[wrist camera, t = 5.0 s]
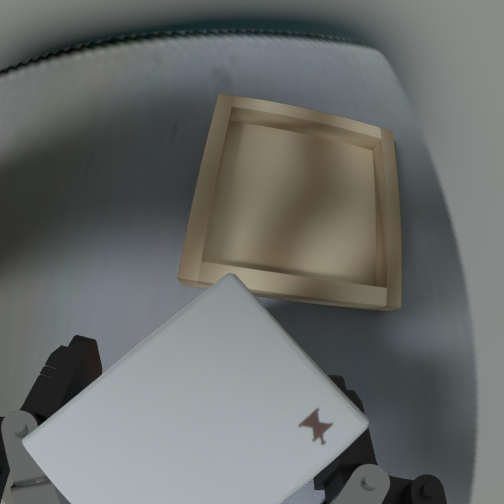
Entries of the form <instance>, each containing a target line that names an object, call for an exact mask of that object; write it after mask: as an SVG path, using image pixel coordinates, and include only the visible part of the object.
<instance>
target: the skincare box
mask: <svg viewBox="0 0 504 504" xmlns="http://www.w3.org/2000/svg"><path fill="white" fill-rule="evenodd" d="M368 426H369V419H368V417H367V416H366V415H365V414H363V413H362V412H361V411H360V410H359V408H358V407H357V406H356V405H355V404H354V403H353V402H352V401H351V400H350V399H349V398H348V397H347V396H346V395H345V394H344V393H343V392H342V391H341V390H340V389H339V388H338V387H337V386H336V385H335V384H334V382H333V381H332V380H331V379H330V378H329V377H328V376H327V375H326V374H325V373H324V372H323V371H322V370H321V369H320V367H319V366H318V365H317V364H316V363H315V362H314V361H313V360H312V359H311V358H310V357H309V356H308V354H307V353H306V352H305V351H304V350H303V349H302V348H301V347H300V346H299V345H298V344H297V342H296V341H295V340H294V339H293V338H292V337H291V336H290V335H289V334H288V333H287V331H286V330H285V329H284V328H283V327H282V326H281V325H280V324H279V323H278V322H277V320H276V319H275V318H274V317H273V316H272V315H271V314H270V313H269V311H268V310H267V309H266V308H265V307H264V306H263V305H262V304H261V302H260V301H259V300H258V299H257V298H256V297H255V296H254V295H253V293H252V292H251V291H250V290H249V289H248V288H247V287H246V285H245V284H244V283H243V282H242V281H241V280H240V279H239V278H238V276H237V275H235V274H233V273H228V274H226V275H224V276H223V277H222V278H221V279H219V280H218V281H217V282H216V283H214V284H213V285H212V286H210V287H209V288H208V289H207V290H205V291H204V292H203V293H201V294H200V295H199V296H197V297H196V298H195V299H193V300H192V301H191V302H189V303H188V304H187V305H185V306H184V307H183V308H182V309H180V310H179V311H178V312H176V313H175V314H174V315H172V316H171V317H170V318H169V319H167V320H166V321H165V322H164V323H162V324H161V325H160V326H159V327H157V328H156V329H155V330H154V331H152V332H151V333H150V334H149V335H147V336H146V337H145V338H144V339H142V340H141V341H140V342H139V343H138V344H137V345H135V346H134V347H133V348H132V349H131V350H130V351H129V352H127V353H126V354H125V355H124V356H123V357H122V358H121V359H119V360H118V361H117V362H116V363H115V364H114V365H112V366H111V367H110V368H109V369H108V370H107V371H105V372H104V373H103V374H102V375H101V376H100V377H98V378H97V379H96V380H95V381H94V382H92V383H91V384H90V385H89V386H87V387H86V388H85V389H84V390H82V391H81V392H80V393H79V394H78V395H76V396H75V397H74V398H73V399H71V400H70V401H69V402H68V403H67V404H65V405H64V406H63V407H62V408H61V409H59V410H58V411H57V412H56V413H54V414H53V415H52V416H51V417H50V418H48V419H47V420H46V421H45V422H43V423H42V424H41V425H40V426H39V427H37V428H36V429H35V430H34V431H33V432H31V433H30V434H29V435H27V436H26V437H25V438H24V439H23V440H22V443H23V445H24V447H25V448H26V450H27V451H28V452H29V454H30V455H31V456H32V458H33V459H34V460H35V462H36V463H37V464H38V466H39V467H40V468H41V469H42V471H43V472H44V473H45V474H46V476H47V477H48V478H49V479H50V480H51V482H52V483H53V484H54V485H55V486H56V487H57V489H58V490H59V491H60V492H61V493H62V494H63V495H64V496H65V498H66V499H67V500H68V501H69V502H70V503H71V504H282V503H283V502H284V501H285V500H286V499H288V498H289V497H290V496H291V495H293V494H294V493H295V492H296V491H298V490H299V489H300V488H302V487H303V486H304V485H305V484H307V483H308V482H309V481H310V480H311V479H313V478H314V477H315V476H316V475H317V474H318V473H319V472H320V471H322V470H323V469H324V468H325V467H326V466H328V465H329V464H330V463H331V462H332V461H333V460H334V459H336V458H337V457H338V456H339V455H340V454H341V453H342V452H343V451H344V450H345V449H346V448H348V447H349V446H350V445H351V444H352V443H353V442H354V441H355V440H356V439H357V438H358V437H359V436H360V435H361V434H362V433H363V432H364V431H365V430H366V429H367V428H368Z"/></svg>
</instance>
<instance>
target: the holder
mask: <svg viewBox="0 0 504 504" xmlns="http://www.w3.org/2000/svg"><path fill="white" fill-rule="evenodd" d="M228 273H233V274H235V275H237V276H238V278H239V279H240V280H241V281H242V282H243V283H244V284H245V285H246V287H247V288H248V289H249V290H250V291H251V292H252V293H253V295H254V296H258V297H266V298H273V299H280V300H288V301H296V302H304V303H312V304H320V305H328V306H337V307H346V308H355V309H364V310H373V311H383V312H386V311H390V310H394V309H398V308H401V299H402V237H401V214H400V198H399V185H398V174H397V164H396V155H395V146H394V138H393V132H392V131H389V130H386V129H383V128H379V127H376V126H373V125H369V124H366V123H362V122H359V121H355V120H351V119H348V118H344V117H340V116H336V115H332V114H328V113H324V112H319V111H315V110H311V109H306V108H301V107H297V106H292V105H287V104H282V103H276V102H271V101H265V100H259V99H253V98H247V97H240V96H234V95H226V94H219V95H218V99H217V103H216V106H215V110H214V114H213V118H212V122H211V126H210V129H209V133H208V137H207V141H206V146H205V150H204V154H203V158H202V162H201V166H200V171H199V175H198V180H197V184H196V188H195V193H194V198H193V202H192V207H191V212H190V216H189V221H188V226H187V231H186V236H185V241H184V246H183V252H182V257H181V262H180V268H179V273H178V279H179V281H180V283H181V285H186V286H192V287H198V288H204V289H208V288H209V287H210V286H212V285H213V284H214V283H216V282H217V281H218V280H219V279H221V278H222V277H223V276H224V275H226V274H228Z"/></svg>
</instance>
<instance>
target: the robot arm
mask: <svg viewBox="0 0 504 504" xmlns="http://www.w3.org/2000/svg"><path fill="white" fill-rule="evenodd" d="M101 375H102V365H101V360H100V356H99V351H98V346H97V342H96V340H95V339H91V338H87V337H83V336H79V335H75V336H74V337H73V339H72V340H71V342H70V344H69V346H68V347H65V346H62V345H61V346H60V347H59V348H58V349H56V350H55V351H54V352H53V353H51V355H50V357H49V358H48V360H47V362H46V364H45V367H43V369H42V371H41V372H40V376H38V378H37V380H36V381H35V383H34V385H33V387H32V389H31V391H30V393H29V394H28V396H27V398H26V400H25V402H24V404H23V406H22V407H21V409H20V410H18V411H13V412H11V413H9V414H8V415H7V416H6V417H0V503H1V499H2V495H3V492H4V488H5V485H6V482H7V478H8V475H9V472H10V471H11V475H12V478H13V486H11V489H10V490H11V496H12V499H13V502H14V504H71V503H70V502H69V501H68V500H67V499H66V498H65V496H64V495H63V494H62V493H61V492H60V491H59V490H58V489H57V487H56V486H55V485H54V484H53V483H52V482H51V480H50V479H49V478H48V477H47V476H46V474H45V473H44V472H43V471H42V469H41V468H40V467H39V466H38V464H37V463H36V462H35V460H34V459H33V458H32V456H31V455H30V454H29V452H28V451H27V450H26V448H25V447H24V445H23V443H22V440H23V439H24V438H25V437H26V436H27V435H29V434H30V433H31V432H33V431H34V430H35V429H36V428H37V427H39V426H40V425H41V424H42V423H43V422H45V421H46V420H47V419H48V418H50V417H51V416H52V415H53V414H54V413H56V412H57V411H58V410H59V409H61V408H62V407H63V406H64V405H65V404H67V403H68V402H69V401H70V400H71V399H73V398H74V397H75V396H76V395H78V394H79V393H80V392H81V391H82V390H84V389H85V388H86V387H87V386H89V385H90V384H91V383H92V382H94V381H95V380H96V379H97V378H98V377H100V376H101ZM327 376H328V377H329V378H330V379H331V380H332V381H333V382H334V384H335V385H336V386H337V387H338V388H339V389H340V390H341V391H342V392H343V393H344V394H345V395H346V396H347V397H348V398H349V399H350V400H351V401H352V402H353V403H354V404H355V405H356V406H357V407H358V408H359V410H360V411H361V412H362V413H363V414H365V413H364V409H363V405H362V401H361V400H360V399H359V397H358V396H357V394H356V393H355V392H354V391H352V390H346V386H345V382H344V379H343V377H342V376H333V375H327ZM314 488H315V490H325V498H324V499H323V500H322V501H321V503H320V504H447V502H446V497H445V493H444V488H443V485H442V483H441V482H440V480H439V479H438V478H436V477H435V476H433V475H428V474H426V475H421V476H419V477H417V478H416V479H415V480H408V479H402V478H396V477H392V476H390V475H388V474H387V473H386V471H385V470H384V469H383V468H381V467H379V466H378V464H377V462H376V459H375V454H374V450H373V446H372V441H371V437H370V433H369V429H368V428H367V429H366V430H365V431H364V432H363V433H362V434H361V435H360V436H359V437H358V438H357V439H356V440H355V441H354V442H353V443H352V444H351V445H350V446H349V447H348V448H346V449H345V450H344V451H343V452H342V453H341V454H340V455H339V456H338V457H337V458H336V459H334V460H333V461H332V462H331V463H330V464H329V465H328V466H326V467H325V468H324V469H323V470H322V471H320V472H319V473H318V474H317V475H316V476H315V477H314Z"/></svg>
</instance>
